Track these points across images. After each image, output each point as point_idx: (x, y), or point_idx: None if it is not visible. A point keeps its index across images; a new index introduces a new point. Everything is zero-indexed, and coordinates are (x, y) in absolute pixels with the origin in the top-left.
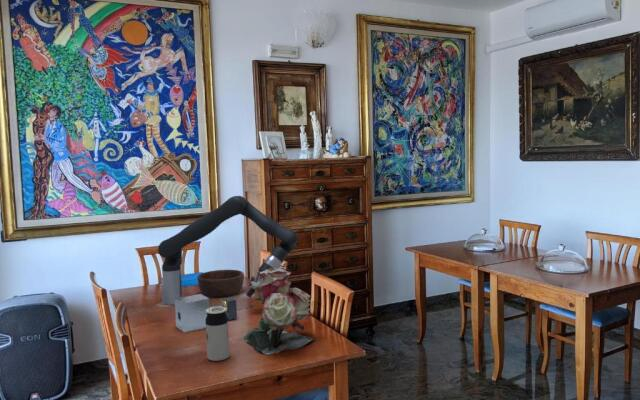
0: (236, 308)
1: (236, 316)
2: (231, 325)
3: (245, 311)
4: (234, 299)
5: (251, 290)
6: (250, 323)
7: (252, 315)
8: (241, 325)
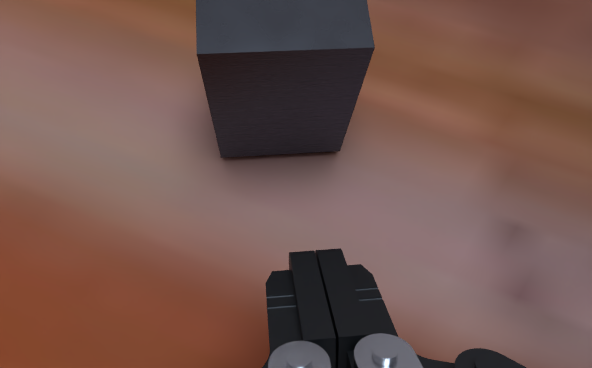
0: (211, 112)
1: (219, 146)
2: (101, 72)
3: (412, 317)
4: (230, 44)
5: (298, 327)
6: (28, 212)
7: (242, 325)
8: (39, 131)
